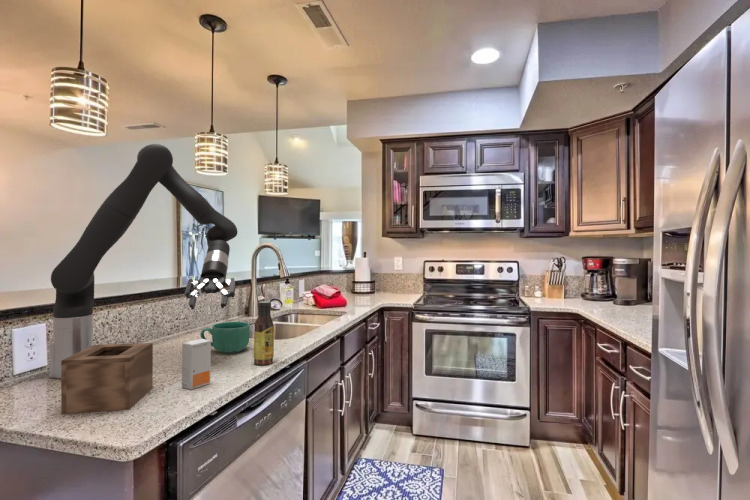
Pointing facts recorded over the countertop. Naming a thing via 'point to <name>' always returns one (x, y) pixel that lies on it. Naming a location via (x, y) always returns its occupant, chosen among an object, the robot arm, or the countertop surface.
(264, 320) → the sauce bottle
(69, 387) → the slot box
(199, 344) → the skincare box
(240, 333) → the mug
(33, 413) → the countertop surface
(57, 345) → the robot arm
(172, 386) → the countertop surface
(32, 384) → the countertop surface
